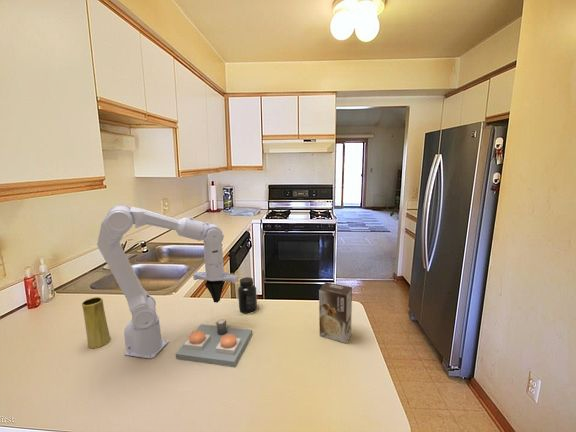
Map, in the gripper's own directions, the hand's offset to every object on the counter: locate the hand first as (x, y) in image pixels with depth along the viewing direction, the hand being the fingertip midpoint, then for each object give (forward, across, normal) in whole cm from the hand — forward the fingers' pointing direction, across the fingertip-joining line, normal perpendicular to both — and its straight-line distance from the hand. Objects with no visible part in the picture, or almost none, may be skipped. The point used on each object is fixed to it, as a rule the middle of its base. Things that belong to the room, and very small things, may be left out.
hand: (217, 301), depth 94 cm
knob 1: (+10, +2, +10) cm, 15 cm away
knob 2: (+10, -8, +10) cm, 16 cm away
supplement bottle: (+11, -5, -14) cm, 18 cm away
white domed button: (+9, -3, +4) cm, 10 cm away
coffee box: (+11, -38, -4) cm, 40 cm away
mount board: (+10, -3, +8) cm, 13 cm away
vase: (+11, +34, +14) cm, 39 cm away
